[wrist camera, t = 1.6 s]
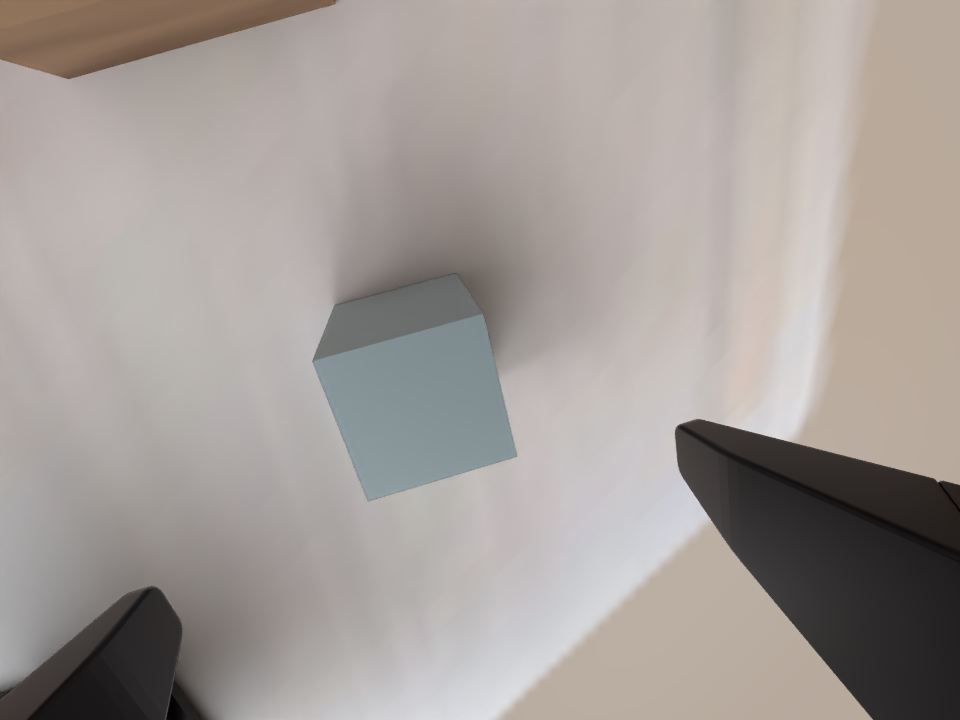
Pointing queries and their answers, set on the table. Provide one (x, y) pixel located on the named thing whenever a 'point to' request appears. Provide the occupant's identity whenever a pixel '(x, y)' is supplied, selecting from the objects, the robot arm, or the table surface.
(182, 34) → the base
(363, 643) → the table surface
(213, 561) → the table surface
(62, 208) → the table surface
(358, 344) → the block
